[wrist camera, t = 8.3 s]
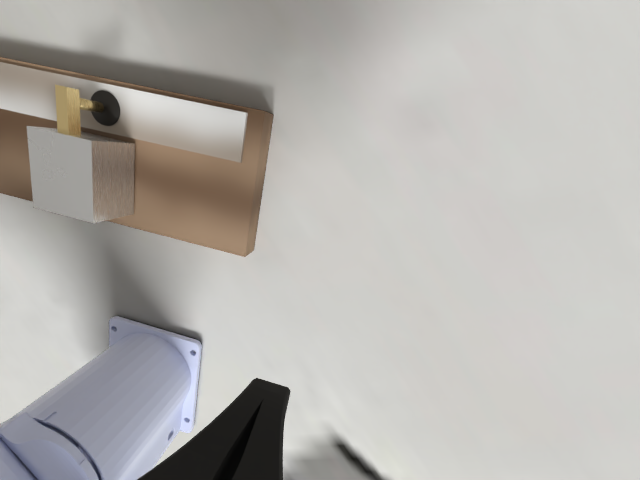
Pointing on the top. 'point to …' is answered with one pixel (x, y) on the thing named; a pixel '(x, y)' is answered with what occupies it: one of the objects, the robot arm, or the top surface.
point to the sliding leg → (80, 165)
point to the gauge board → (151, 151)
